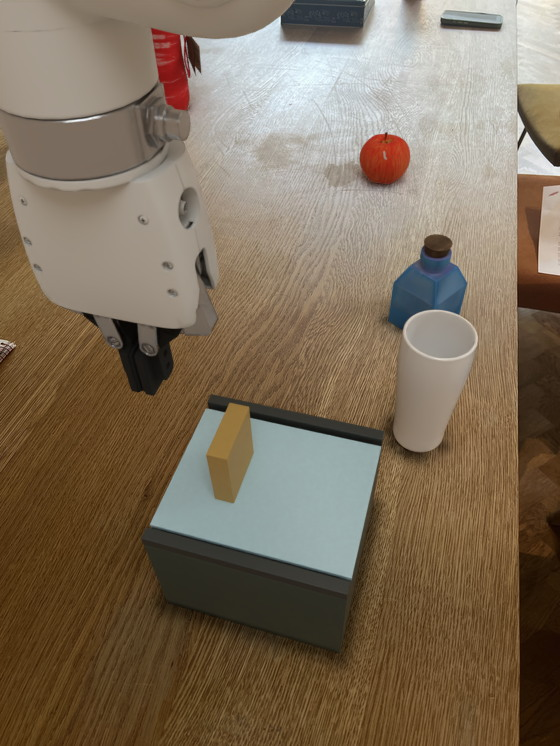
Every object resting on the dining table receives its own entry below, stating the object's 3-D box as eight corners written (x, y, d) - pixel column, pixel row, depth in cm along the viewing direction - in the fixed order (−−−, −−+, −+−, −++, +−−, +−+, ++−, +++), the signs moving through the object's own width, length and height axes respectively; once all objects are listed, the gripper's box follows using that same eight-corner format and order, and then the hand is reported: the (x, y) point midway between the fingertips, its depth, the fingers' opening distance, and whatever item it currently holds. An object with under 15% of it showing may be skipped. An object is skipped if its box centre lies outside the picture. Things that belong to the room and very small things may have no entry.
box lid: (380, 449, 51) (388, 399, 46) (351, 580, 43) (357, 537, 39) (206, 410, 54) (197, 361, 50) (150, 527, 47) (133, 481, 42)
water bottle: (214, 102, 123) (198, -45, 104) (205, 120, 117) (187, -32, 99) (155, 100, 124) (130, -46, 105) (144, 118, 119) (115, -32, 100)
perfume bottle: (426, 345, 75) (443, 266, 66) (388, 320, 78) (398, 242, 69) (457, 321, 77) (477, 242, 69) (419, 298, 81) (433, 220, 72)
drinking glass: (379, 451, 64) (395, 351, 53) (392, 404, 69) (409, 302, 58) (444, 467, 63) (474, 368, 52) (453, 418, 67) (483, 316, 56)
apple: (405, 193, 98) (412, 145, 92) (355, 189, 99) (358, 142, 93) (408, 168, 103) (415, 121, 97) (360, 164, 104) (364, 118, 99)
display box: (372, 504, 60) (384, 430, 51) (340, 653, 51) (347, 594, 42) (223, 468, 63) (210, 393, 55) (167, 603, 54) (140, 538, 45)
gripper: (258, 106, 30) (270, 362, 44) (-3, 76, 33) (83, 324, 47) (203, 184, 25) (235, 445, 39) (-97, 141, 28) (29, 396, 42)
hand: (152, 378), depth 43 cm, fingers closed
